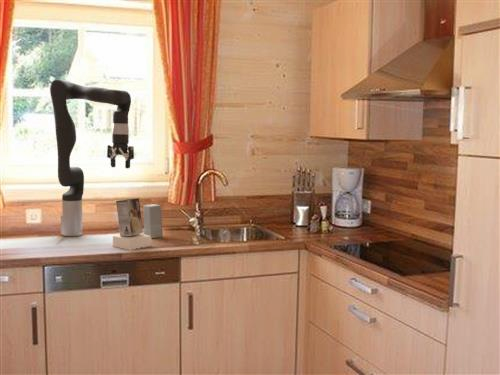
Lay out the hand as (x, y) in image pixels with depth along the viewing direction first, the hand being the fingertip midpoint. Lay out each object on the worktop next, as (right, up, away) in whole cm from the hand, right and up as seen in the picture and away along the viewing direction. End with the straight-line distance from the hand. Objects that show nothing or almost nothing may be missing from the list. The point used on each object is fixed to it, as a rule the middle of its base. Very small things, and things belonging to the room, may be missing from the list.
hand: (120, 167), depth 274 cm
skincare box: (+14, -34, +10) cm, 38 cm away
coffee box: (+8, -31, -12) cm, 34 cm away
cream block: (+8, -36, -13) cm, 39 cm away
